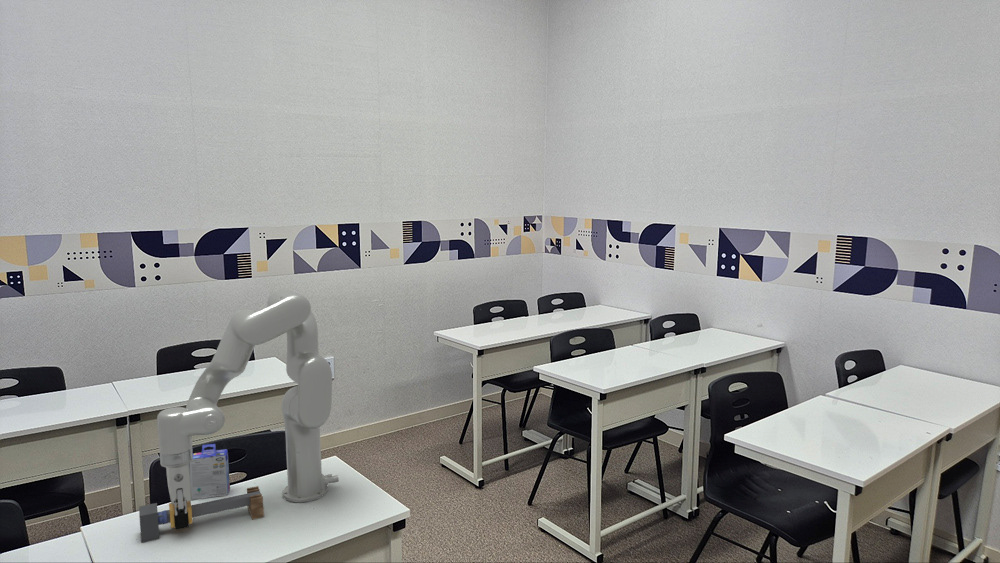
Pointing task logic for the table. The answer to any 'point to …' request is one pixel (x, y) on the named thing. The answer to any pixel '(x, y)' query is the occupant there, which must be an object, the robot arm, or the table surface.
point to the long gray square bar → (215, 506)
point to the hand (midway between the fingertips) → (181, 522)
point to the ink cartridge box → (209, 473)
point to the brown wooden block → (256, 504)
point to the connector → (149, 522)
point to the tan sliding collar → (172, 512)
